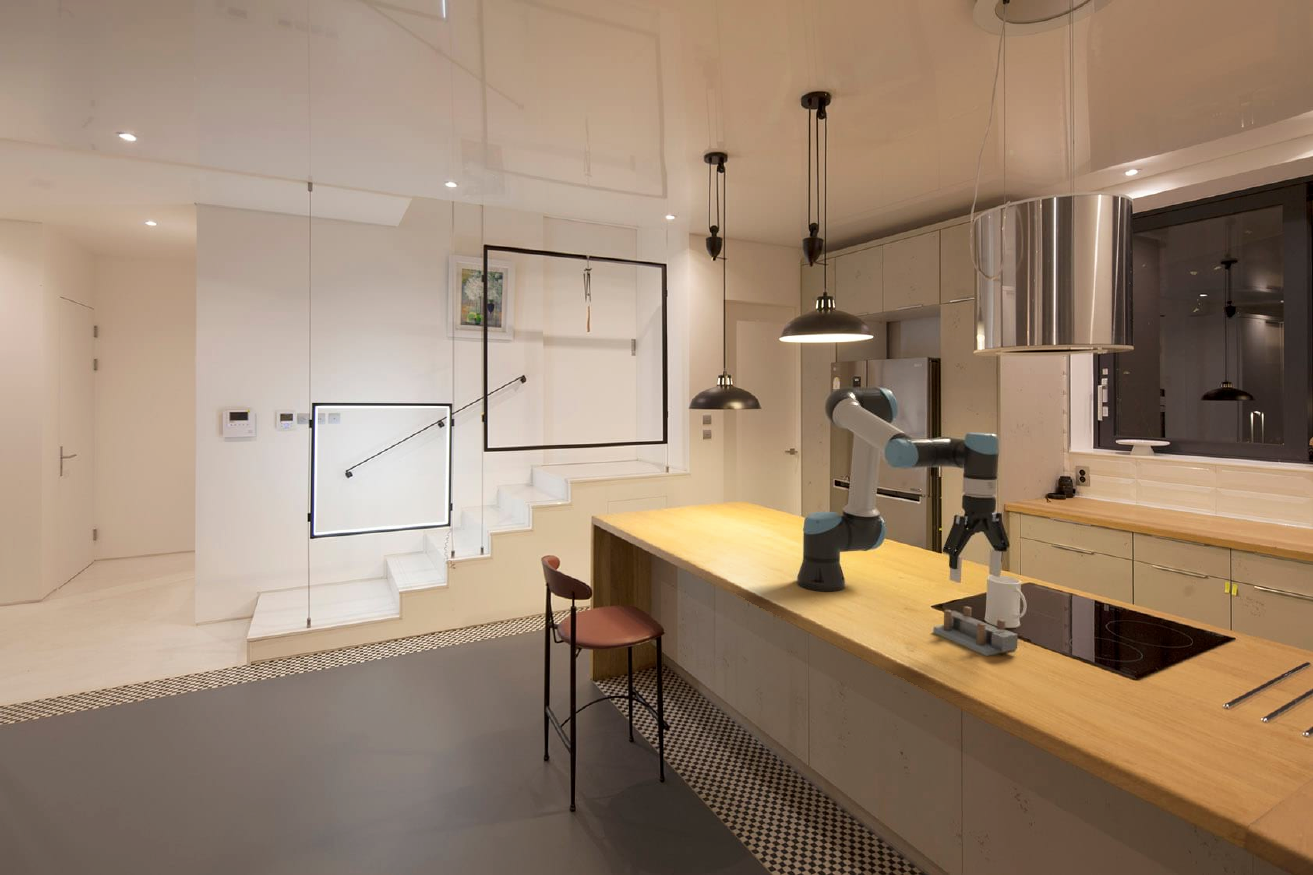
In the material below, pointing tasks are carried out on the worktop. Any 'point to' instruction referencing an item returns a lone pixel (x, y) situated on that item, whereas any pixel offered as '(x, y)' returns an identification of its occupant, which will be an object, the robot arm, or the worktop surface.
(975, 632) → the spanner bar
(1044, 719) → the worktop surface
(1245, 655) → the worktop surface
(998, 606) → the mug
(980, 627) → the peg rack
